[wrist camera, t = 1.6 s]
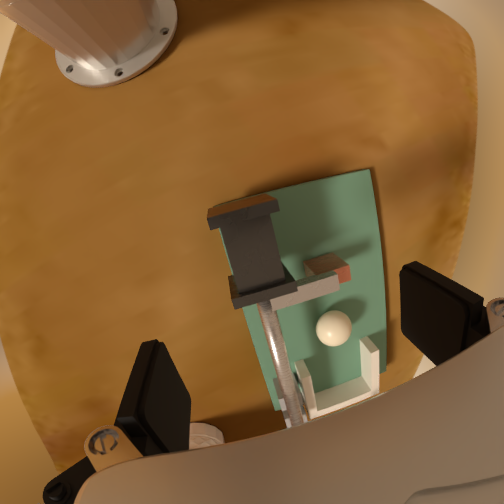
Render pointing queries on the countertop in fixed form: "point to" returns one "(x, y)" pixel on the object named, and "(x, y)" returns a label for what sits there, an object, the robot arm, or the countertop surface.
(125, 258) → the countertop surface
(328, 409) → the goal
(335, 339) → the ball
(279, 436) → the robot arm
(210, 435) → the white cup
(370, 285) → the board
